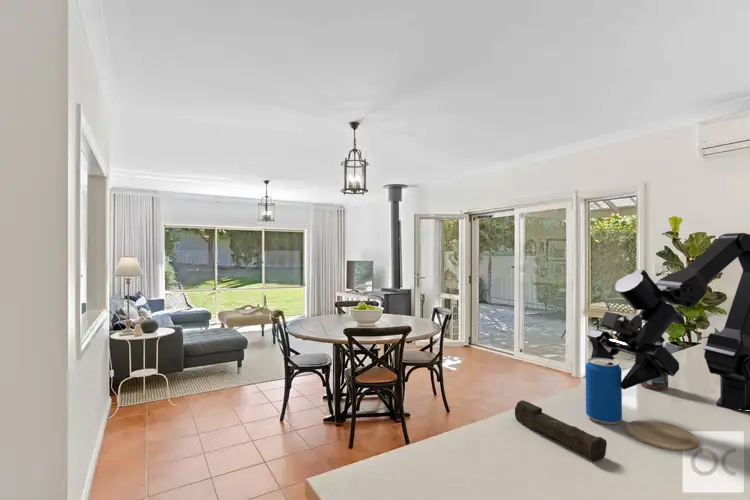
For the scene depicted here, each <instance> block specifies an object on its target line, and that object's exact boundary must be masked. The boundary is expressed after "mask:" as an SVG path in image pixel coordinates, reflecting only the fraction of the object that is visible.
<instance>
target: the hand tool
mask: <svg viewBox="0 0 750 500" xmlns="http://www.w3.org/2000/svg"><path fill="white" fill-rule="evenodd" d="M514 417H515V420H517V421H518V422H519V423H520V424H521V425H523V426H524V427H526V428H527V429H529V430H530V431H539V432H540V433H543V434H545V435H547V436H548V437H550V438H553V439H555V440H557V441H559V442H561V443H563V444H564V445H566V446H568V447H570V448H572V449H573V450H576V451H577V452H579V453H580V454H582V455H585V456H588V457H589V460H590V461H591V463H595V462H596V463H597V462H599V461H601V460H603V459H604V458H605V457H606V453H607V446H608V445H607V444H608V443H607V440H606V439H605V438H603V437H601V436H596V435H592V434H591V433H588V432H586V431H585V430H582V429H580V428H579V427H578V426H575V425H570V424H568V423H566V422H564V421H562V420H559V419H558V418H555V417H553V416H551V415H549V414H546V413H545V412H543V408H542V407H540V406H537V405H535V404H533V403H531V402H529V401H525V400H522V399H521V400H519V401H518V402H516V405H515V407H514Z"/></svg>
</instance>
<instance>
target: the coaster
mask: <svg viewBox="0 0 750 500" xmlns="http://www.w3.org/2000/svg"><path fill="white" fill-rule="evenodd" d="M626 431H627V433H628V434H629V435H630V436H631V437H633V438H634V439H636V440H638V441H640V442H642V443H644V444H647V445H650V446H652V447H657V448H659V449H661V448H662V449H665V450H670V451H681V452H682V451H683V452H684V451H692V450H696V449H697V448H699V446H700V444H699V443H700V442H699V441H700V440H699V438H698V437H697V435H695V434H694V433H692V432H691V431H689V430H686V429H684V428H682V427H680V426H677V425H673V424H670V423H666V422H662V421H657V420H648V419H647V420H646V419H638V420H633V421H630V422H628V423H627V424H626Z"/></svg>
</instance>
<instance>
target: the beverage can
mask: <svg viewBox="0 0 750 500" xmlns="http://www.w3.org/2000/svg"><path fill="white" fill-rule="evenodd" d="M622 375H623V374H622V368H621V367H620V361H617V360H615V359H613V360H611V359H606V358H591V357H590V358H588V359H587V363H585V414H586V415H587V416H588V417H589V418H590V420H592V421H593V422H596V423H599V424H604V425H615V424H618V422H621V421H622V420H623V402H622V401H623V399H622V398H623V396H622V395H623V392H622V391H623V389H622V388H621V387H620V384H621V382H622V381H623V379H622Z"/></svg>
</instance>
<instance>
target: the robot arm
mask: <svg viewBox="0 0 750 500" xmlns="http://www.w3.org/2000/svg"><path fill="white" fill-rule="evenodd" d="M736 259H738V262H739V264H740V266H741V269H742V272H741V275H740V278H739V281H738V284H737V288H736V291H735V294H734V296H733V299H732V302H731V306H730V309H729V311H728V312H729V313H728V315H727V317H726V321H725V325H724V327H723V329H722V330H720V331H719V332H718V333H714V332H710V333H709V334H708V336H707V340H706V343H705V346H704V347H703V350H704V355H703V357H704V359H705V362H706V365H707V368H708V371H709V373H710V374H712V375H713V374H714V375H717V376H719V380H720V381H719V382H720V383H719V384H720V385H719V387H720V392H719V393H720V396H719V397H718V398H717V400H716V401H715V405H716V406H719V407H724V408H729V409H732V408H733V409H732V410H737V409H741V410H750V233H745V232H733V233H732V232H731V233H729V232H728V233H727V232H726V233H724V234H721V235H720V236H719V237H717V241H715V242H714V243H713V244H712V245H710V246H709V247H708V248H707V249H706V250H705V251H704V252H702V253H701V254H700V255H699V256H698V257H697V258H695V259H694V260H693V261H692V262H691V263H690V264H688V266H686V267H685V268H683V269H680V270H678V271H677V270H676V271H675V272H670V273H669V274H666V275H665V276H663V277H661V278H660V279H659V280H658V281H657V282H656V283H655V282H654V281H653V280H652V278H651V277H650V276H649V274H648V272H646V270H644V269H636V270H635V271H634V272H632V273H630V274H627V275H625V276H623V277H622V278H619V279H618V280H617V281H616V283H615V285H614V289H615V291H616V292H617V293H618V294H619V295H620V296H621V297H622V298H623V299H624V301H625V302H626V303H627V304H628V306H630V307H631V308H632V309H633V310H636V311H639V313H638V314H634V313H633V314H632V313H628V314H627V316H626V315H623V314H619V313H616V312H615V313H614V312H612V311H611V312H610V311H605V312H604V315H603V317H602V319H601V322H600V326H601V327H604V328H607V329H609V330H611V331H613V332H612V334H613V336H615V338H617V339H615V338H614V337H613V336H612V335H611V334H610V333H609V331H606V330H601V329H597V328H592V329H591V330H590V331H589V332H588V333H587V335H586V337H587V338H588V339H589V342H590V344H591V345H592V351H591V352H592V353H591V356H590V358H606V359H611V360H615V357H614V356H617V355H618V354H619V353H620V352H622V353H625V354H629V355H632V356H635V361H634V362H635V363H634V364H633V365H632V366H631V368H630V369H629V371H628V372H627V373H626V374H625V376H624V377H623V379H622V382H621V384H620V387H621V388H622V390H627V389H630V388H632V387H635V386H637V385H641V384H640V383H643V382H645V381H649V380H652V379H655V378H658V377H666V376H667V375H668V376H671V377H675V375H676V374H677V373H678V372H679V370H680V362H679V361H678V360H677V359H676V358H675V356H674V355H673V354H672V353H671V352H670V351H669V350H668V349H667V348H666V347H665V346H663V347H662V346H659V345H655V344H656V343H657V342H658V343H663V344H664V342H665V341H666V339H665V338H664V337H663V336H664V334H665V333H666V332H667V330H668V329H669V328H670V326H672V324H678V325H685V323H686V322H685V317H684V316H683V311H681V310H677V309H676V308H675V307H674V306H679V307H686V308H692V307H695V306H696V305H697V304H699V302H700V301H701V300H702V299H703V297H704V296H705V295H706V294H707V290H708V284H709V283H710V282H711V281H712V280H714V278H715V277H716V276H718V275H719V274H720V273H721V272H722V271H723V270H724V269H725V268H726V269H727V267H729V265H730V264H731V263H733V262H734V261H735V260H736ZM666 374H667V375H666ZM741 410H740V411H741Z"/></svg>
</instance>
